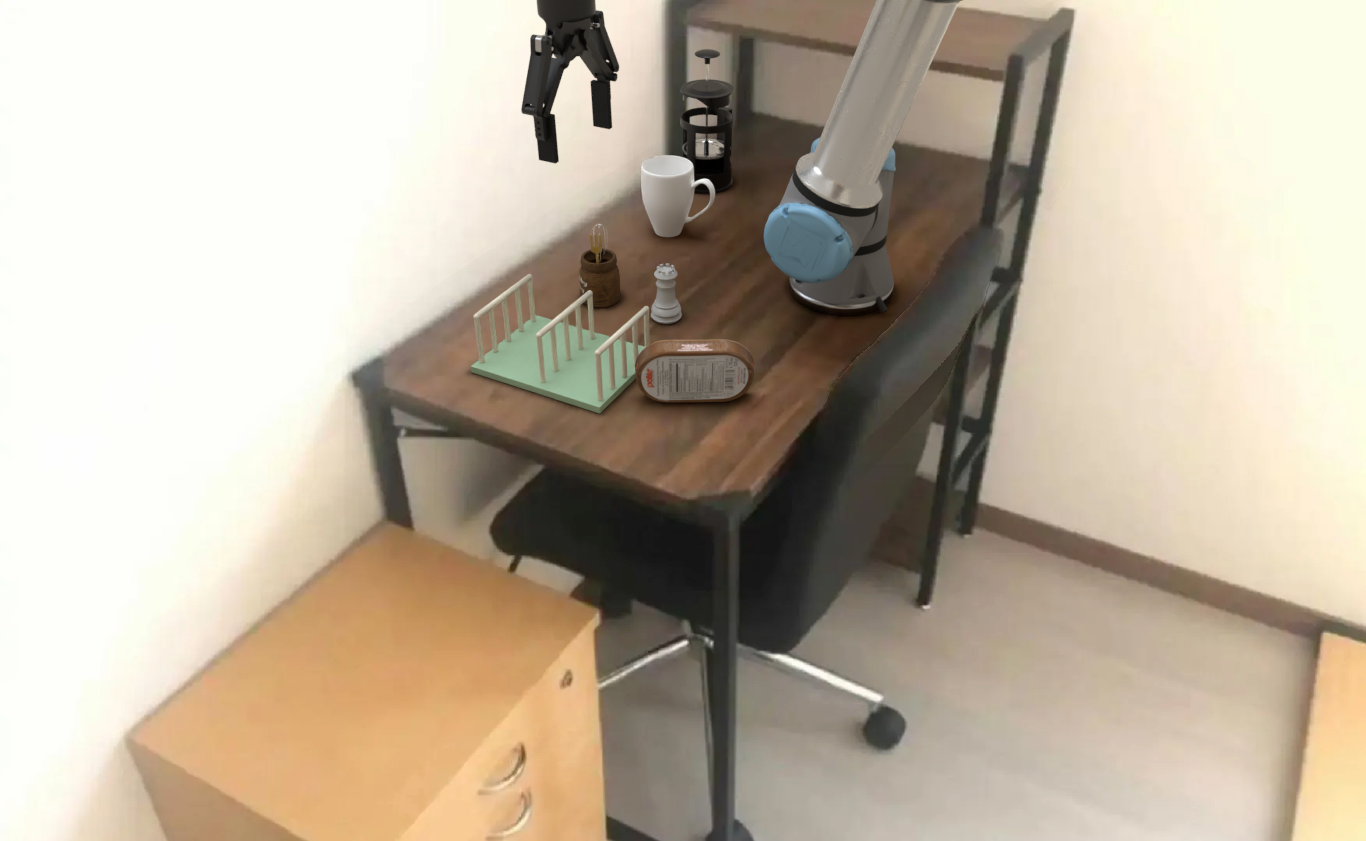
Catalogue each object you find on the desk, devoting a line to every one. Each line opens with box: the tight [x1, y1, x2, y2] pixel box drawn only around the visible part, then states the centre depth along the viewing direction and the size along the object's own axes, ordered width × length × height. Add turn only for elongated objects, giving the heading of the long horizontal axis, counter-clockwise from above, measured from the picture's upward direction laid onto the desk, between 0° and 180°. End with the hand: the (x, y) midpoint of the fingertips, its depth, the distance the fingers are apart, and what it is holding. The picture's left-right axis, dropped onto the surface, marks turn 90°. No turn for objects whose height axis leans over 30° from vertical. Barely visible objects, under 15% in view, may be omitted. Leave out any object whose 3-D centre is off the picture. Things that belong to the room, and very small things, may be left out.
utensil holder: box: [578, 223, 621, 309], centre depth 161 cm, size 6×6×12 cm
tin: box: [635, 338, 755, 404], centre depth 141 cm, size 15×3×8 cm, turn 92°
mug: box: [640, 154, 716, 238], centre depth 178 cm, size 12×8×11 cm
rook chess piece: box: [650, 262, 683, 325], centre depth 158 cm, size 4×4×8 cm
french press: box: [679, 48, 735, 195], centre depth 191 cm, size 12×9×23 cm
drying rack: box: [470, 273, 651, 415], centre depth 148 cm, size 20×15×8 cm
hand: (576, 143), depth 155 cm, fingers open, 13 cm apart
